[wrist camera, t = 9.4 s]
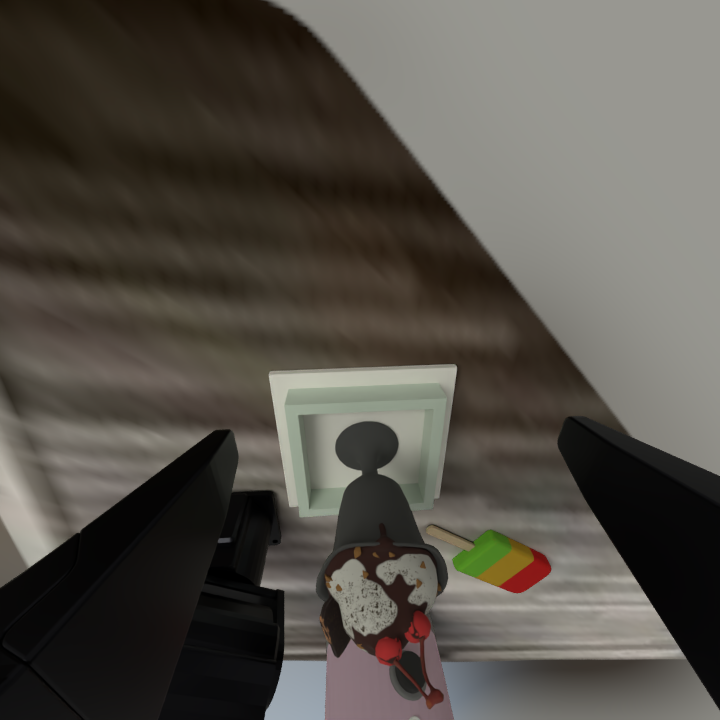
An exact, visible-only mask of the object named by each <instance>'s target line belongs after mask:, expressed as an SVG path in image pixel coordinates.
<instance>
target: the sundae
mask: <svg viewBox="0 0 720 720" xmlns="http://www.w3.org/2000/svg"><path fill="white" fill-rule="evenodd" d="M398 445H399V443H398V439H397V436H396V434H395V433H394V432H393V430H391V429H390V428H389V427H388V426H386V425H384V424H381V423H378V422H371V421H364V422H360V423H356V424H353V425H351V426H349V427H347V428H346V429H345V430H343V431H342V432H341V434H340V435H339V436H338V438H337V440H336V444H335V452H336V454H337V457H338V458H339V460H340V461H341V462H342V463H343V464H344V465H346V466H347V467H349V468H351V469H355V470H361V471H362V475H361V476H360V477H358V478H357V479H355V480H354V481H352V482H351V483H350V484H349V485H348V486H347V487H346V489H345V491H344V494H343V498H342V502H341V506H340V510H339V515H338V522H337V529H336V536H335V544H334V549H333V552H332V553H331V554H330V555H329V557H328V558H327V560H326V561H325V563H324V565H323V567H322V569H321V571H320V573H319V575H318V577H317V583H316V593H317V594H318V596H319V597H320V598H321V599H322V600H323V601H325V603H324V605H323V607H322V611H321V614H320V623H321V626H322V629H323V632H324V634H325V637H326V639H327V641H328V643H329V644H330V646H331V649H332V651H333V654H334V656H335V657H337V658H339V657H340V656H341V655H342V653H343V652H344V650H345V649H346V647H347V645H348V644H349V642H350V640H351V639H352V641H353V642H354V643H355V644H356V646H357V647H358V648H360V649H362V650H363V651H365V652H367V653H369V654H370V655H373V656H376V657H377V659H378V661H379V663H381V664H384V665H387V666H393V665H395V666H396V667H397V668H398V669H399V670H400V671H401V672H402V673H403V674H404V675H405V676H406V677H407V678H408V679H409V680H411V681H412V683H413V684H414V685H415V686H416V687H417V688H418V690H419V691H420V692H421V694H422V695H423V696H424V698H425V700H426V706H427V708H428V709H429V710H430V709H431V708H432V707H433V706H434V705H435V704H438V703H441V702H443V700H444V695H443V693H442V692H441V691H440V690H439V689H435V688H434V687H433V686H432V685H431V683H430V682H429V679H428V676H427V673H426V667H425V657H424V641H425V639H427V638H428V637H429V634H430V630H431V624H430V621H429V619H428V617H427V616H426V615H427V613H428V612H429V611H430V609H431V608H432V606H433V604H434V601H435V599H436V597H437V596H438V595H440V594H441V593H442V592H443V591H444V589H445V587H446V585H447V580H448V573H447V567H446V564H445V561H444V559H443V557H442V555H441V554H440V552H439V551H438V550H437V549H436V548H435V547H434V546H432V545H429V544H425V543H424V541H423V539H422V537H421V535H420V532H419V530H418V527H417V525H416V522H415V519H414V517H413V514H412V511H411V509H410V506H409V503H408V501H407V499H406V497H405V495H404V493H403V491H402V489H401V487H400V485H399V484H398V483H397V482H396V481H394V480H393V479H391V478H389V477H387V476H385V475H381V474H378V471H377V469H379V468H382V467H384V466H385V465H387V464H388V463H390V462H391V460H392V459H393V458H394V456H395V455H396V453H397V450H398ZM408 642H411V643H415V644H416V643H419V642H420V660H421V665H422V671H423V675H424V678H425V681H426V683H427V685H428V686H429V688H430V694H429V695H427V694H426V693H425V692H423V690H422V689H421V687H420V686H419V685H418V683H417V682H416V680H415V679H414V678H413V677H412V676H411V675H410V674H409V673H408V672H407V671H406V670H405V669H404V668H403V666H402V665H401V664H400V663H399V662H398V661H399V660H400V658H401V656H402V650H403V649H404V648H405V646H406V645H407V644H408Z"/></svg>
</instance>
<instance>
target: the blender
mask: <svg viewBox="0 0 720 720" xmlns="http://www.w3.org/2000/svg"><path fill="white" fill-rule="evenodd" d="M426 616H427V617H428V619H429V621H430V624H431V630H430V634H429V637H428V638H427V639H425V641H424V657H425V667H426V673H427V676H428V679H429V682H430V683H431V685H432V686H433V687H434V688H435V689H439V690H440V691H441V692H442V693H443V695H444V700H443V702H441V703H438V704H435V705H434V706H433V707H432V708H431V709H430V710H429V709H428V708H427V706H426V700H425V698H424V696H423V695H422V694H421V692H420V691H419V690H418V688H417V687H416V686H415V685H414V684H413V683H412V681H411V680H409V679H408V678H407V677H406V676H405V675H404V674H403V673H402V672H401V671H400V670H399V669H398V668H397V667H396V666H395V665H393V666H387V665H384V664H381V663H379V661H378V659H377V657H376V656H373V655H370V654H369V653H367V652H365V651H363V650H362V649H360V648H358V647H357V646H356V644H355V643H354V642H353V641H352V639H351V640H350V642H349V644H348V645H347V647H346V649H345V650H344V652H343V653H342V655H341V656H340V657H339V658H337V657H335V656H334V654H333V651H332V649H331V646H330V644H329V643H328V641H326V653H327V673H326V700H325V701H326V702H325V720H454V718H453V714H452V709H451V704H450V700H449V695H448V691H447V686H446V682H445V678H444V673H443V669H442V664H441V660H440V656H439V652H438V647H437V643H436V636H435V631H434V627H433V623H432V620H431V617H430V614H429V612H428V613H427V615H426ZM398 662H399V663H400V664H401V665H402V666H403V668H404V669H405V670H406V671H407V672H408V673H409V674H410V675H411V676H412V677H413V678H414V679H415V680H416V682H417V683H418V685H419V686H420V687H421V689H422V690H423V692H425V693H426V694H427V695H429V694H430V688H429V686H428V685H427V683H426V681H425V678H424V675H423V671H422V665H421V660H420V642H419V643H416V644H415V643H411V642H408V644H407V645H406V646H405V648H404V649H403V650H402V656H401V658H400V660H399V661H398Z"/></svg>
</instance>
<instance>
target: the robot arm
mask: <svg viewBox="0 0 720 720" xmlns="http://www.w3.org/2000/svg"><path fill="white" fill-rule="evenodd" d="M558 448H559V450H560V452H561V454H562V456H563V458H564V460H565V462H566V464H567V466H568V468H569V470H570V472H571V474H572V476H573V477H574V479H575V481H576V483H577V485H578V487H579V489H580V491H581V493H582V495H583V497H584V498H585V500H586V502H587V503H588V505H589V507H590V508H591V510H592V512H593V513H594V515H595V516H596V518H597V519H598V521H599V522H600V524H601V526H602V527H603V529H604V530H605V532H606V533H607V535H608V537H609V538H610V540H611V541H612V543H613V544H614V546H615V547H616V549H617V551H618V552H619V554H620V555H621V557H622V558H623V560H624V562H625V563H626V565H627V566H628V568H629V569H630V571H631V572H632V574H633V576H634V577H635V579H636V580H637V582H638V583H639V585H640V587H641V588H642V590H643V591H644V593H645V594H646V596H647V597H648V599H649V601H650V602H651V604H652V605H653V607H654V608H655V610H656V612H657V613H658V615H659V616H660V618H661V619H662V621H663V622H664V624H665V626H666V627H667V629H668V630H669V632H670V633H671V635H672V637H673V638H674V640H675V641H676V643H677V644H678V646H679V647H680V649H681V651H682V652H683V654H684V655H685V657H686V658H687V660H688V662H689V663H690V665H691V666H692V668H693V669H694V671H695V672H696V674H697V676H698V677H699V679H700V680H701V682H702V683H703V685H704V686H705V688H706V689H707V691H708V693H709V694H710V696H711V697H712V699H713V700H714V702H715V704H716V705H717V707H718V708H719V710H720V476H718V475H716V474H714V473H712V472H709V471H707V470H705V469H703V468H700V467H698V466H696V465H693V464H691V463H689V462H687V461H684V460H682V459H680V458H677V457H675V456H672V455H670V454H668V453H666V452H664V451H662V450H659V449H657V448H655V447H652V446H650V445H648V444H646V443H643V442H641V441H639V440H637V439H634V438H632V437H630V436H627V435H625V434H623V433H621V432H618V431H616V430H614V429H612V428H609V427H607V426H605V425H602V424H600V423H598V422H596V421H593V420H591V419H589V418H587V417H584V416H571V417H567V418H566V419H565V421H564V423H563V426H562V429H561V432H560V434H559V437H558ZM237 465H238V450H237V446H236V442H235V437H234V433H233V431H232V430H230V429H226V430H215V431H213V432H212V433H211V434H209V435H208V436H207V437H205V438H204V439H203V440H201V441H200V442H198V443H197V444H196V445H194V446H193V447H192V448H190V449H189V450H188V451H186V452H185V453H184V454H182V455H181V456H180V457H178V458H177V459H176V460H174V461H173V462H172V463H170V464H169V465H168V466H166V467H165V468H164V469H162V470H161V471H160V472H158V473H157V474H156V475H154V476H153V477H151V478H150V479H149V480H147V481H146V482H145V483H143V484H142V485H141V486H139V487H138V488H137V489H135V490H134V491H133V492H131V493H130V494H129V495H127V496H126V497H125V498H123V499H122V500H121V501H119V502H118V503H117V504H115V505H114V506H113V507H111V508H110V509H109V510H107V511H106V512H105V513H103V514H102V515H100V516H99V517H98V518H96V519H95V520H94V521H92V522H91V523H90V524H88V525H87V526H86V527H84V528H83V529H82V530H81V532H80V533H76V534H75V535H73V536H72V537H71V538H69V539H68V540H67V541H65V542H64V543H63V544H61V545H60V546H59V547H57V548H56V549H55V550H53V551H52V552H50V553H49V554H48V555H46V556H45V557H44V558H42V559H41V560H39V561H38V562H37V563H35V564H34V565H32V566H31V567H30V568H28V569H27V570H26V571H24V572H23V573H21V574H20V575H19V576H17V577H15V578H14V579H13V580H11V581H10V582H8V583H7V584H5V585H4V586H2V587H1V588H0V720H264V717H265V711H266V709H267V708H268V707H269V705H270V703H271V701H272V699H273V696H274V693H275V691H276V687H277V684H278V681H279V676H280V672H281V668H282V662H283V655H284V591H283V590H279V589H277V590H272V589H268V588H264V587H260V584H261V579H262V575H263V570H264V565H265V560H266V555H267V550H268V545H278V544H280V543H281V532H280V527H279V521H278V516H277V511H276V505H275V500H274V495H273V493H272V492H270V491H256V492H239V493H231V492H232V488H233V483H234V478H235V474H236V469H237Z"/></svg>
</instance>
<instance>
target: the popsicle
mask: <svg viewBox="0 0 720 720" xmlns="http://www.w3.org/2000/svg"><path fill="white" fill-rule="evenodd" d="M426 532H427V534H429V535H432V536H434V537H436V538H438V539H441V540H443V541H445V542H448V543H450V544H452V545H455V546H457V547H459V548H462V549H464V550H463V551H462V552H461V553H459V554H458V555H457V556H456V557H455V558H453V559H452V560H453V564H454V567H455V569H456V570H457V571H460V572H462V573H465V574H467V575H470V576H472V577H475V578H477V579H480V580H482V581H485V582H487V583H490V584H492V585H495V586H497V587H500V588H502V589H505V590H507V591H510V592H513V593H521V592H524V591H526V590H527V589H529V588H530V587H532V586H533V585H535V584H536V583H538V582H539V581H540V580H542V579H543V578H545V577H546V576H547V575H549V573H550V572H551V566H550V564H549V562H548V560H547V558H546V557H545V555H543V554H542V553H540V552H537V551H535V550H533V549H531V548H529V547H527V546H525V545H523V544H521V543H519V542H516V541H514V540H512V539H510V538H508V537H506V536H504V535H502V534H500V533H498V532H495V531H493V530H488V531H486V532H485V533H484V534H483V535H481V536H480V537H479V538H478V539H477V540H475V541H474V542H473V543H472V542H470V541H467V540H465V539H463V538H461V537H458V536H456V535H454V534H452V533H449V532H447V531H445V530H443V529H440V528H438V527H436V526H433V525H430V526H429V527H427V528H426ZM492 565H493V566H492Z"/></svg>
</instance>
